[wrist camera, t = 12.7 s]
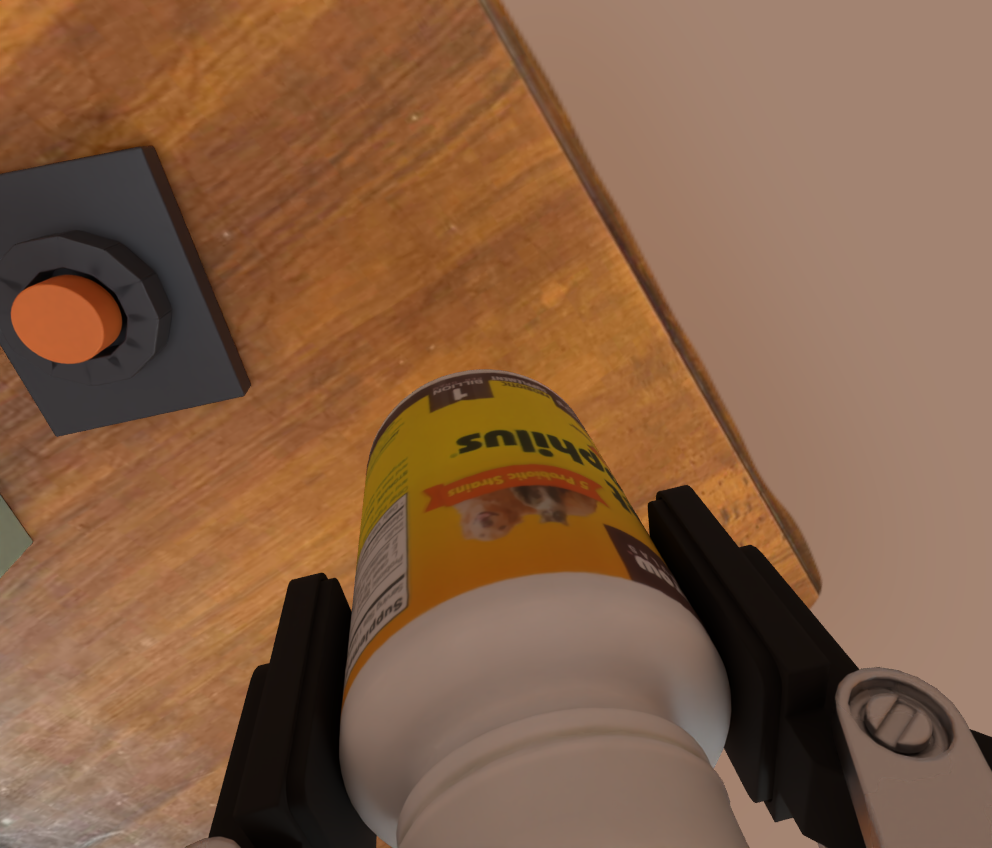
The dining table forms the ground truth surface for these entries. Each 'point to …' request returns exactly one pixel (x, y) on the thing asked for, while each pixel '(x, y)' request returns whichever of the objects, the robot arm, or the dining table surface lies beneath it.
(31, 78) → the dining table surface
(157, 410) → the block
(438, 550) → the supplement bottle
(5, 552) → the scale
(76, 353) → the tare button
